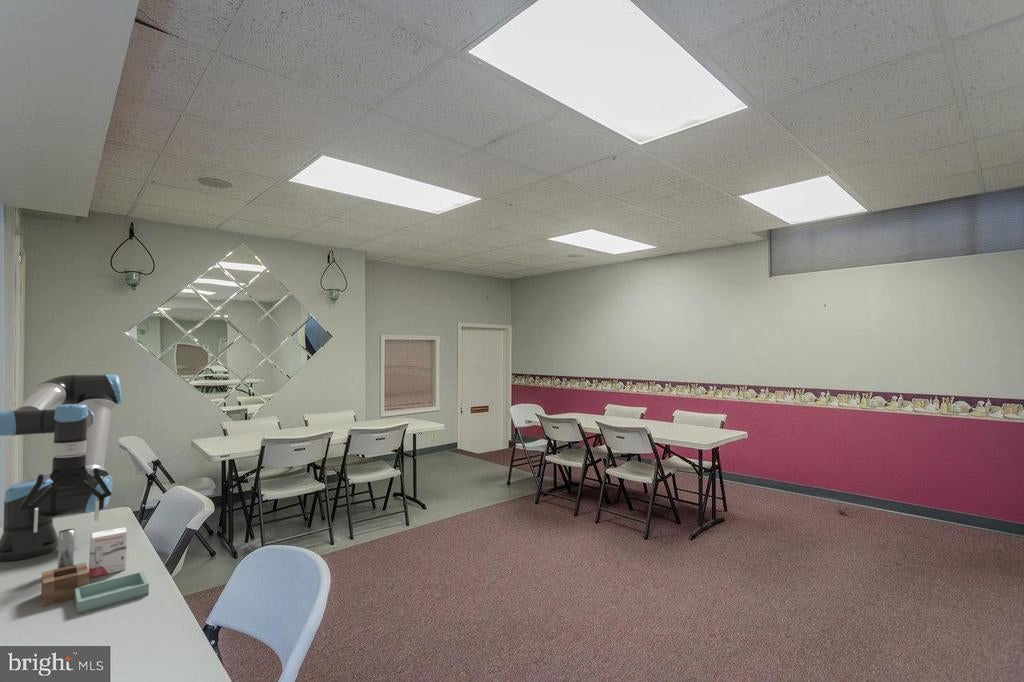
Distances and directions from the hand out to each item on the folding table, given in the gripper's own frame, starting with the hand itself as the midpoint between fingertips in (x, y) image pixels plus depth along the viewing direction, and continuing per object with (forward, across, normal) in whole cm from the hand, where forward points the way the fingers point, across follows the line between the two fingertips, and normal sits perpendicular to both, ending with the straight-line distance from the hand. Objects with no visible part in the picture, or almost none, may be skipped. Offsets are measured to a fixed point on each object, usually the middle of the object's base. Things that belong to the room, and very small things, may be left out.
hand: (66, 525), depth 146 cm
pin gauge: (+14, 0, 0) cm, 14 cm away
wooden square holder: (+14, -1, -18) cm, 23 cm away
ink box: (+14, +9, -8) cm, 19 cm away
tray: (+14, +8, -29) cm, 33 cm away
